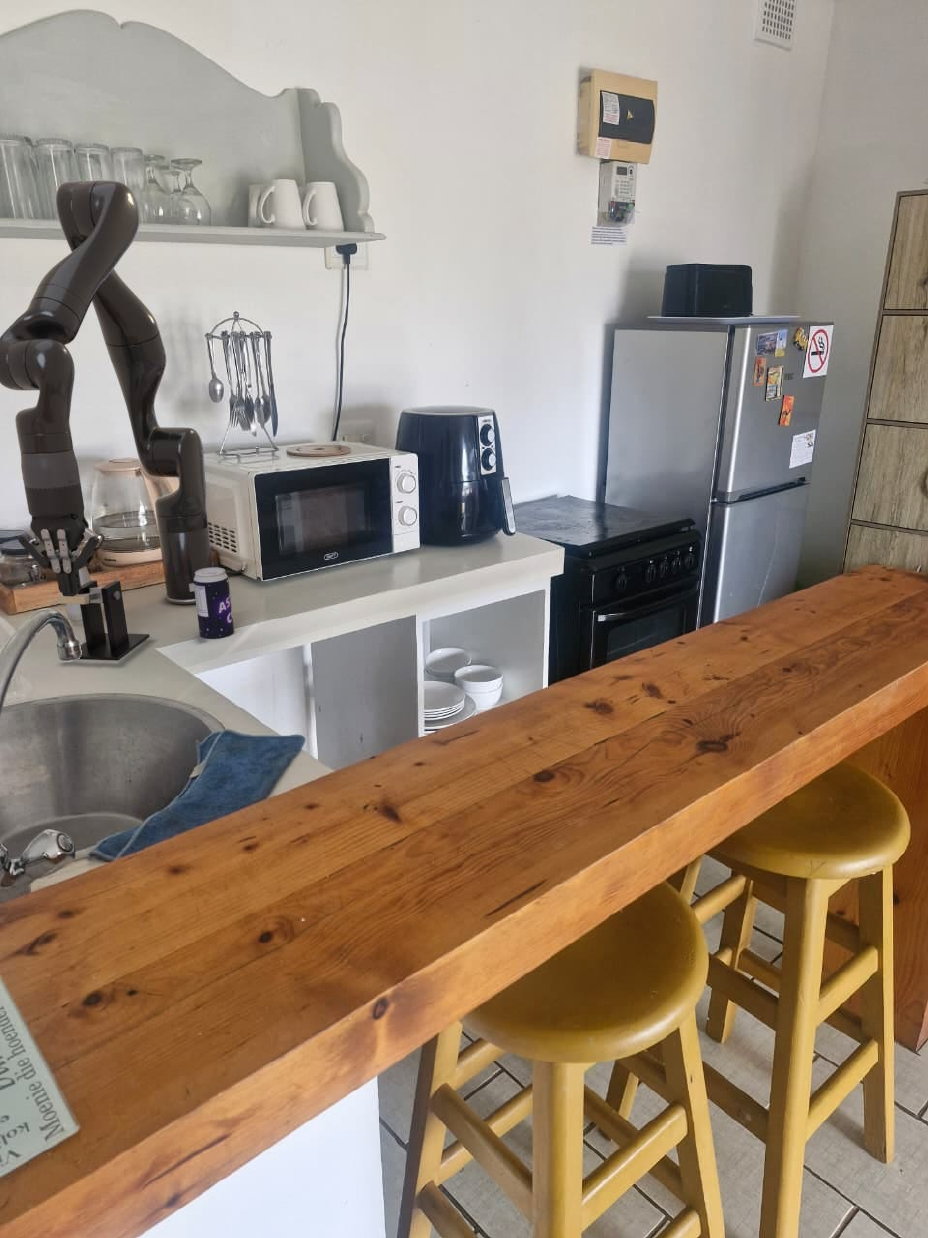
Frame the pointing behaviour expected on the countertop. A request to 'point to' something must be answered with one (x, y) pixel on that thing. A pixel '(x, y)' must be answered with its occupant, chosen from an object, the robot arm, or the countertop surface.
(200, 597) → the beverage can
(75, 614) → the salt shaker
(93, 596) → the switch lever
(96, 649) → the lever switch base
